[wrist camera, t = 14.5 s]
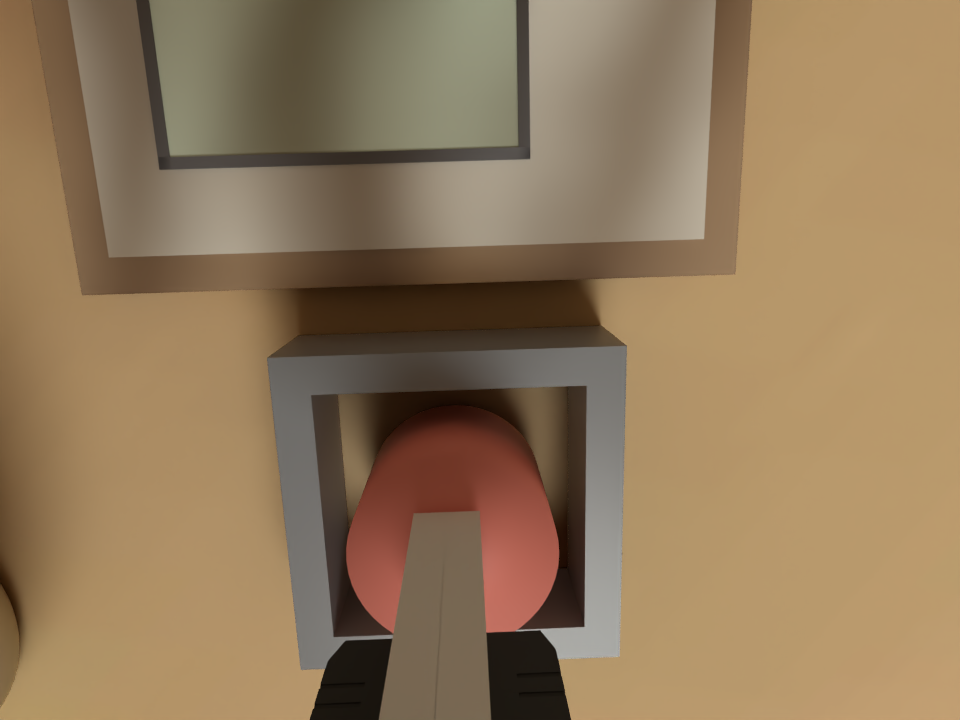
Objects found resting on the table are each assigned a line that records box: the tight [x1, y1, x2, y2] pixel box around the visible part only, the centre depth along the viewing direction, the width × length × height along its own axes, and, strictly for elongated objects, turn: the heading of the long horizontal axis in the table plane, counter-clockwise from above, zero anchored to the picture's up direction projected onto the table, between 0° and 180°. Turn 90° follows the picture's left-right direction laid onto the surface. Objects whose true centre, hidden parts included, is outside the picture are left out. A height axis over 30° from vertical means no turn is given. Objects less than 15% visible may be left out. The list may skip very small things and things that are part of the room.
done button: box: [346, 405, 559, 633], centre depth 17 cm, size 5×5×4 cm
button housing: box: [267, 326, 627, 670], centre depth 18 cm, size 9×9×3 cm
